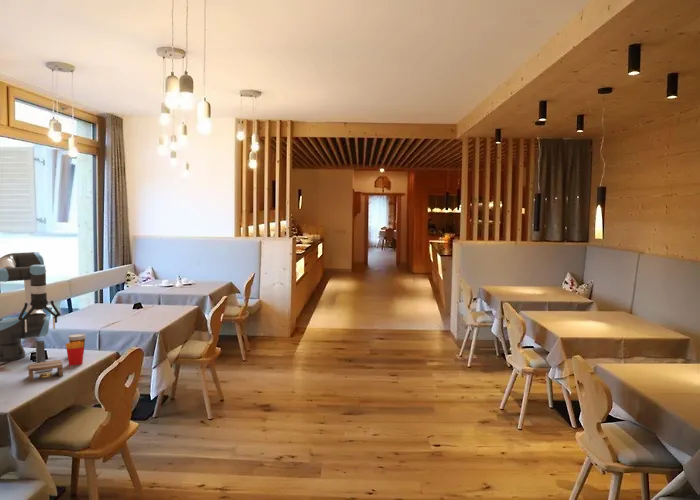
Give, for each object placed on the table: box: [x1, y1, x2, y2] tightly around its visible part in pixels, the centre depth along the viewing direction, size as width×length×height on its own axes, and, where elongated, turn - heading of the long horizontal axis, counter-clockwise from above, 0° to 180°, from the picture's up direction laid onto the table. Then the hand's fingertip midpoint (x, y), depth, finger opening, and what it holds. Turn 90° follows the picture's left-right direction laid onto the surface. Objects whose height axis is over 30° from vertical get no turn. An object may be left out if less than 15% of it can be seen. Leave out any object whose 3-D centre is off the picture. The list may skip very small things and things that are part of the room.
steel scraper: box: [34, 340, 53, 374], centre depth 296 cm, size 22×8×12 cm, turn 35°
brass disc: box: [38, 371, 53, 379], centre depth 280 cm, size 6×6×2 cm
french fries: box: [65, 341, 85, 366], centre depth 300 cm, size 9×4×13 cm, turn 118°
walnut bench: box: [27, 359, 64, 382], centre depth 279 cm, size 10×15×6 cm, turn 125°
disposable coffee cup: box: [68, 332, 87, 355], centre depth 319 cm, size 10×10×12 cm
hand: (40, 330), depth 293 cm, fingers open, 13 cm apart
